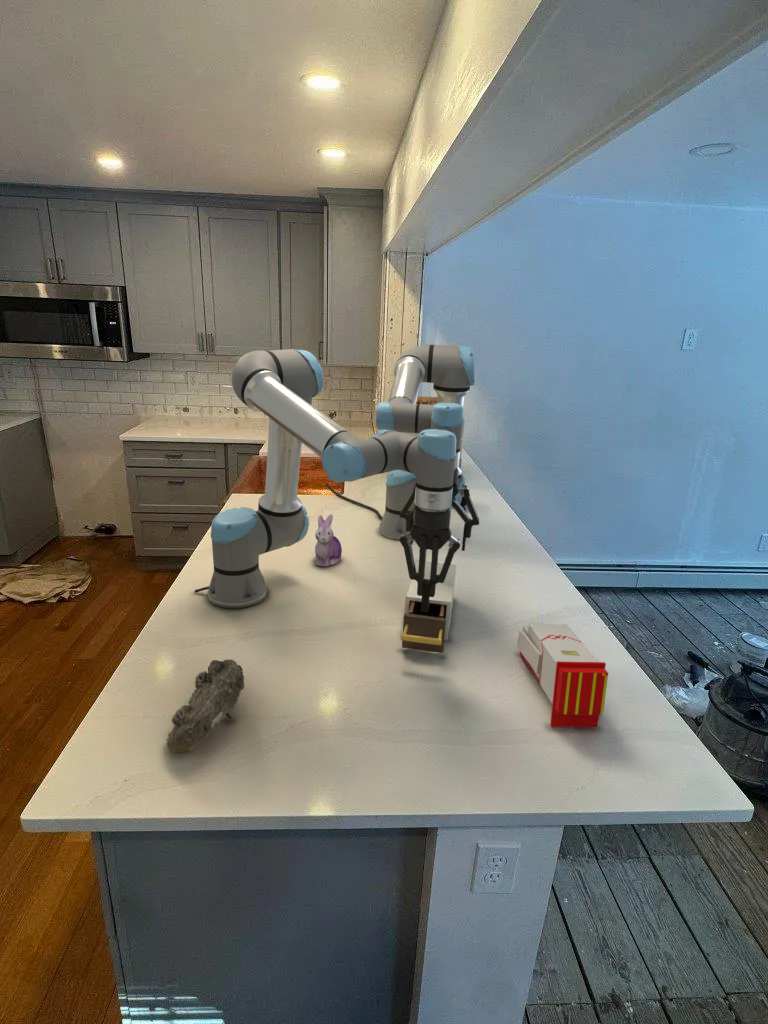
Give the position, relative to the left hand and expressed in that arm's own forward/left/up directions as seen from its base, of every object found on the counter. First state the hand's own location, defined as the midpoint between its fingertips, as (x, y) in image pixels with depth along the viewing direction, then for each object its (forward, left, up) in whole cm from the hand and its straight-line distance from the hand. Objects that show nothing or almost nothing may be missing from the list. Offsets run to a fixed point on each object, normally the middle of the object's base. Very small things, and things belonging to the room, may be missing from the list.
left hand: (424, 608), depth 123 cm
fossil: (-38, -26, -14) cm, 48 cm away
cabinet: (+1, +21, -14) cm, 25 cm away
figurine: (-33, +47, -14) cm, 59 cm away
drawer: (0, +10, -13) cm, 16 cm away
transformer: (-13, +156, -14) cm, 157 cm away
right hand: (+1, +27, +4) cm, 27 cm away
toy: (+29, -3, -14) cm, 32 cm away
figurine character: (+7, +111, -14) cm, 112 cm away
